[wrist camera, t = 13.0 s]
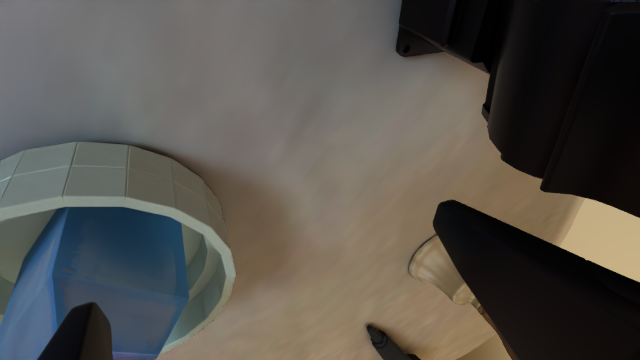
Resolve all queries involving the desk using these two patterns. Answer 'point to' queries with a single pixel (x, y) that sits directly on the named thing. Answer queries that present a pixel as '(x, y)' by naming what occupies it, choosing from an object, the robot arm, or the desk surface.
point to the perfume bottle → (100, 280)
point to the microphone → (388, 346)
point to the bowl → (117, 191)
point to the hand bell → (447, 279)
